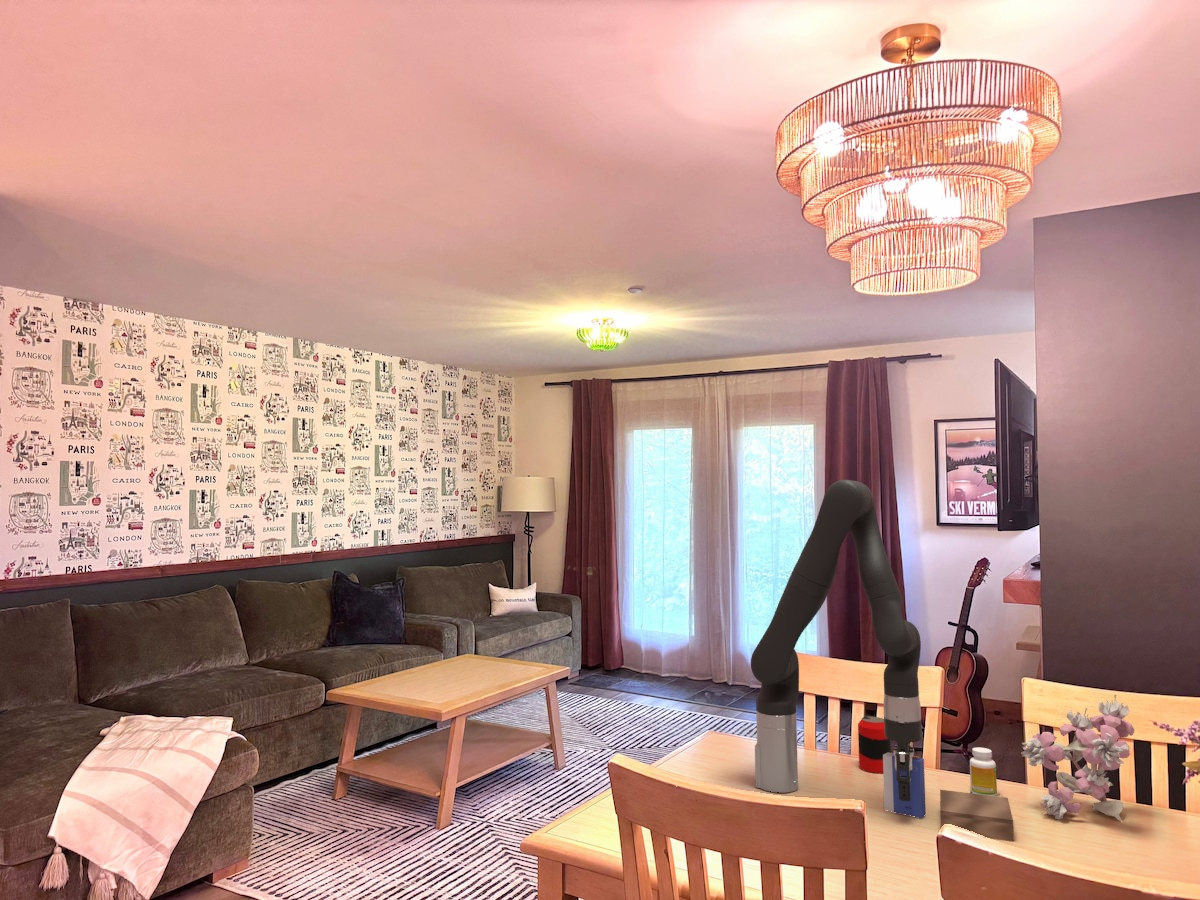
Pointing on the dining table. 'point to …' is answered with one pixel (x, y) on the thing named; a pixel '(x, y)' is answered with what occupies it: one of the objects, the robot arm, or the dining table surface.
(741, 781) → the dining table surface
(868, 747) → the soda can
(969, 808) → the walnut stand
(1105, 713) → the flower
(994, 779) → the supplement bottle
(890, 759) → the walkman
